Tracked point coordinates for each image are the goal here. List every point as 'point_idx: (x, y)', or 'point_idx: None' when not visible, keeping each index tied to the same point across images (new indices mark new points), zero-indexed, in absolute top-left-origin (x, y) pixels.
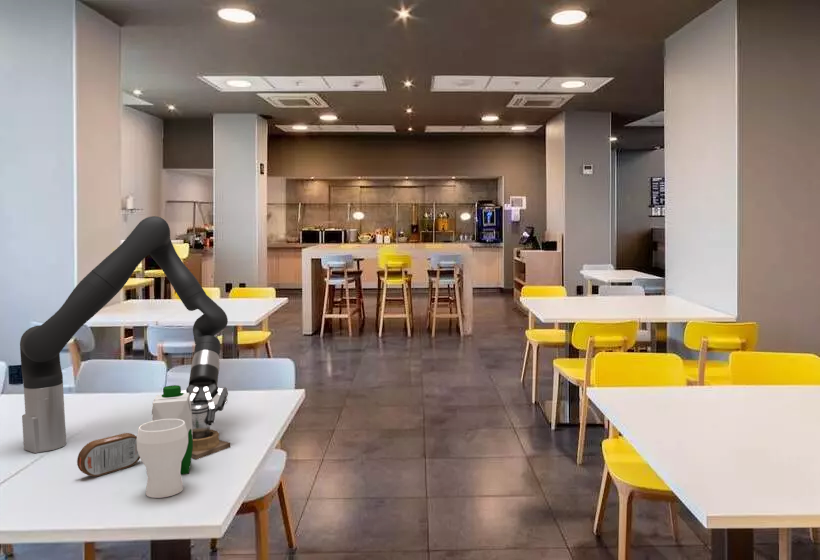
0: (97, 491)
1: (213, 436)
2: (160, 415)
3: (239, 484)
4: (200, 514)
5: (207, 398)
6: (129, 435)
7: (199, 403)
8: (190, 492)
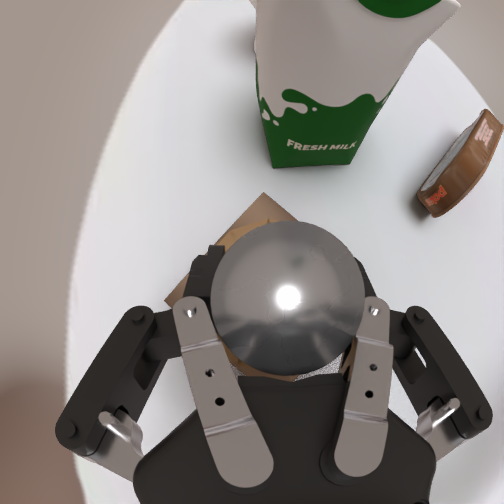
0: (408, 84)
1: None
2: None
3: (151, 61)
4: (211, 4)
5: (222, 360)
6: (469, 150)
7: (291, 340)
8: (237, 40)
